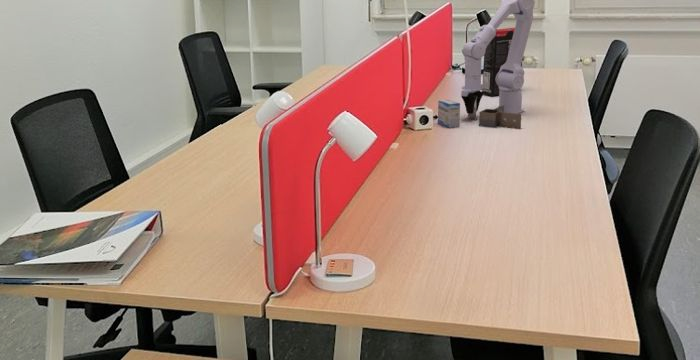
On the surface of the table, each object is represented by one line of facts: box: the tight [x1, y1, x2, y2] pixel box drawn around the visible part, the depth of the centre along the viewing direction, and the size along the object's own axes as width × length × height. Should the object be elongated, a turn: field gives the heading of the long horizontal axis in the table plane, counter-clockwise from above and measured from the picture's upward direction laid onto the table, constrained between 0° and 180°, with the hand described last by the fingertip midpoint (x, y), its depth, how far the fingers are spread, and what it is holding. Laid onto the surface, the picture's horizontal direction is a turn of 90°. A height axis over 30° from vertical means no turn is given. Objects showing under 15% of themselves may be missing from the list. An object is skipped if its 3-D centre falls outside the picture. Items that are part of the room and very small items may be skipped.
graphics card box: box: [481, 27, 523, 97], centre depth 321 cm, size 17×7×27 cm, turn 124°
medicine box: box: [437, 99, 461, 129], centre depth 271 cm, size 8×4×9 cm, turn 25°
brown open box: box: [478, 108, 522, 130], centre depth 268 cm, size 6×14×5 cm, turn 56°
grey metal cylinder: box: [467, 96, 478, 121], centre depth 280 cm, size 4×4×8 cm
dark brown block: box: [478, 105, 504, 129], centre depth 273 cm, size 14×6×5 cm, turn 146°
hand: (472, 112), depth 280 cm, fingers closed on grey metal cylinder, 3 cm apart
